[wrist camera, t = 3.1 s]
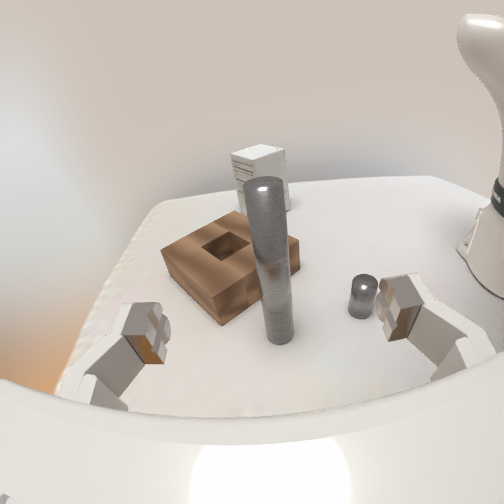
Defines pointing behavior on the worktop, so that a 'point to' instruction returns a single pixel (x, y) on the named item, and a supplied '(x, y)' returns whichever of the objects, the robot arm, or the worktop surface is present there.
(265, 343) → the worktop surface
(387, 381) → the worktop surface
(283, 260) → the long pin
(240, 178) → the supplement box
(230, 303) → the collar block
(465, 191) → the worktop surface
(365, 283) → the short pin
